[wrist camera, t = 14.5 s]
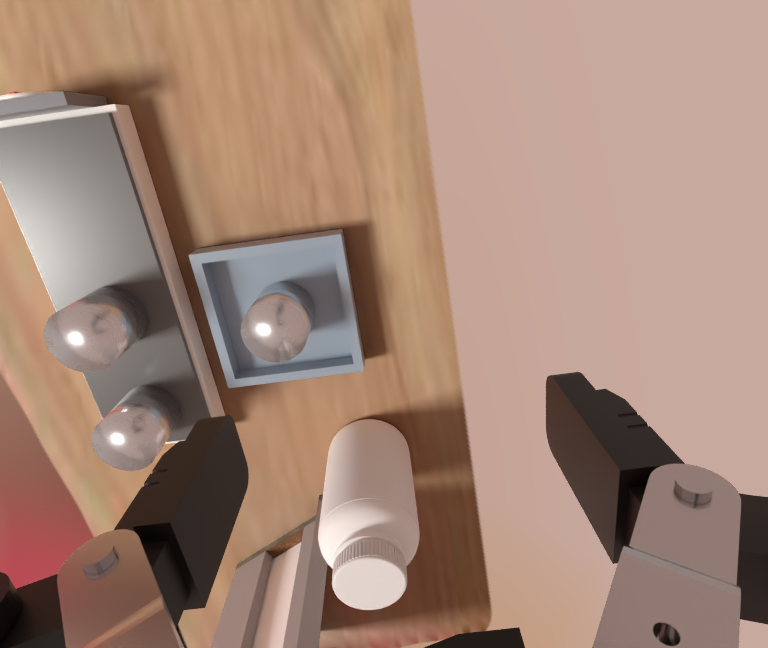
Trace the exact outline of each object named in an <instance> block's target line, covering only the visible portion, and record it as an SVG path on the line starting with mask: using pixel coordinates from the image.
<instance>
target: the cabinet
mask: <svg viewBox="0 0 768 648" xmlns="http://www.w3.org/2000/svg"><path fill="white" fill-rule="evenodd" d="M322 499H323V496H322V495H319V502H318V509H317V515H316V516H314V517H313V518H311V519H310V520H308V521H306V522H305V523H303V524H301V525H300V526H298V527H297V528H295V529H293V530H292V531H290V532H289V533H287V534H285V535H284V536H282V537H281V538H279V539H277V540H276V541H274V542H273V543H271V544H269V545H268V546H266V547H264V548H263V549H261V550H260V551H258V552H256V553H255V554H253V555H252V556H250V557H248V558H247V559H245V560H244V561H242V562H240V563H239V564H237V567H236V570H235V573H234V576H233V579H232V583H231V586H230V589H229V592H228V595H227V598H226V601H225V605H224V608H223V611H222V614H221V617H220V620H219V624H218V627H217V630H216V633H215V636H214V639H213V643H212V646H211V648H319V639H320V630H321V620H322V611H323V602H324V592H325V583H326V574H327V565H328V563H327V562H326V561H325V559H324V557H323V555H322V553H321V550H320V546H319V542H318V531H319V522H320V515H321V507H322Z"/></svg>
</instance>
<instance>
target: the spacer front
mask: <svg viewBox="0 0 768 648" xmlns="http://www.w3.org/2000/svg"><path fill="white" fill-rule="evenodd" d="M314 317H315V305H314V302H313V299H312V298H311V296H310V294H309V293H308V292H307V291H306V290H305V289H304V288H302V287H301V286H299V285H297V284H295V283H292V282H285V281H282V282H275V283H273V284H270V285H268V286H267V287H266V288H264V289H263V290H262V292H261V293H260V294H259V296H258V297H257V299H256V300H255V301H254V303H253V304H252V306H251V307H250V309H249V310H248V311H247V313H246V314H245V316H244V318H243V320H242V323H241V336H242V340H243V342H244V344H245V346H246V347H247V349H248V350H249V351H250V352H251V353H252V354H253V355H255V356H256V357H258V358H260V359H262V360H265V361H268V362H276V363H278V362H285V361H288V360H291V359H293V358H295V357H296V356H297V355H298V354H300V352H301V351H302V350H303V348H304V347H305V345H306V342H307V339H308V335H309V332H310V329H311V326H312V323H313V320H314Z"/></svg>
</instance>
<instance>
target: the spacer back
mask: <svg viewBox="0 0 768 648" xmlns="http://www.w3.org/2000/svg"><path fill="white" fill-rule="evenodd" d="M180 419H181V408H180V405H179V403H178V401H177V400H176V398H175V397H174V396H173V395H172V394H171V393H169V392H168V391H166V390H165V389H163V388H160V387H157V386H153V385H142V386H138V387H135V388H133V389H132V390H130V391H129V392H128V393H127V394H126V395H125V396H124V397H123V399H122V400H121V401H120V402H119V403H118V404H117V405H116V406H115V407H114V408H113V409H112V410H111V411H110V412H109V413H108V414H107V415H106V416H105V418H104V419H103V420H102V421H101V422H100V423H99V424H98V425H97V426H96V427H95V429H94V430H93V432H92V436H91V442H92V446H93V449H94V451H95V453H96V454H97V455H98V457H99V458H100V459H101V460H103V461H104V462H105V463H107V464H108V465H110V466H112V467H114V468H117V469H121V470H127V471H134V470H140V469H143V468H145V467H147V466H148V465H150V464H151V463H152V462H153V461H154V459H155V458H156V456H157V455H158V453H159V452H160V450H161V449H162V447H163V446H164V444H165V443H166V441H167V440H168V438H169V437H170V435H171V434H172V432H173V431H174V429H175V428H176V426H177V425H178V423H179V422H180Z"/></svg>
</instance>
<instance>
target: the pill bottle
mask: <svg viewBox="0 0 768 648" xmlns="http://www.w3.org/2000/svg"><path fill="white" fill-rule="evenodd" d="M419 539H420V532H419V523H418V515H417V507H416V499H415V491H414V483H413V475H412V467H411V460H410V452H409V448H408V444H407V442H406V440H405V438H404V436H403V435H402V433H401V432H400V431H399V430H398V429H397V428H395V427H394V426H392V425H391V424H389V423H386V422H384V421H380V420H375V419H364V420H358V421H355V422H352V423H350V424H348V425H346V426H345V427H343V428H342V429H341V430H340V431H339V432H338V433H337V434H336V435H335V437H334V438H333V440H332V442H331V445H330V448H329V453H328V460H327V468H326V476H325V484H324V491H323V499H322V507H321V515H320V522H319V531H318V542H319V546H320V550H321V553H322V555H323V557H324V559H325V561H326V562H327V563H328V565H329V566H330V567H331V568H332V569H333V574H332V587H333V590H334V592H335V594H336V596H337V597H338V598H339V599H340V600H341V601H342V602H343V603H345V604H346V605H348V606H350V607H353V608H356V609H361V610H376V609H381V608H384V607H387V606H389V605H391V604H393V603H394V602H396V601H397V600H398V599H399V598H400V597H401V596H402V595H403V593H404V591H405V590H406V587H407V569H406V567H407V565H408V564H409V563H410V562H411V561H412V559H413V557H414V556H415V554H416V551H417V548H418V544H419Z"/></svg>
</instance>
